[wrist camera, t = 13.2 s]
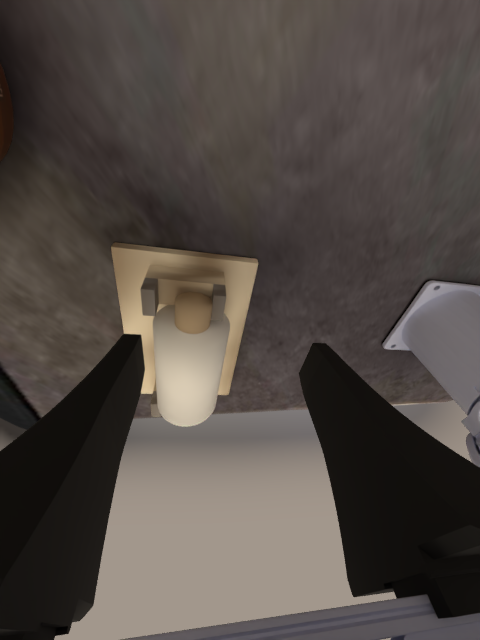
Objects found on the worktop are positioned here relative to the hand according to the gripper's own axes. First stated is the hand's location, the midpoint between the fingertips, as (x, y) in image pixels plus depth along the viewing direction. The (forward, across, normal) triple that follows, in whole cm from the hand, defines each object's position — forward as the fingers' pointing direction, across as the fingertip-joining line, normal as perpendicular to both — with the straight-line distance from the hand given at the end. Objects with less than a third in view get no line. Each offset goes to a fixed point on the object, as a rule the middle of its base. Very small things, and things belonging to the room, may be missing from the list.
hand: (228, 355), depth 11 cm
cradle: (+10, +2, +8) cm, 13 cm away
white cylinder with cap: (+8, +3, +8) cm, 12 cm away
